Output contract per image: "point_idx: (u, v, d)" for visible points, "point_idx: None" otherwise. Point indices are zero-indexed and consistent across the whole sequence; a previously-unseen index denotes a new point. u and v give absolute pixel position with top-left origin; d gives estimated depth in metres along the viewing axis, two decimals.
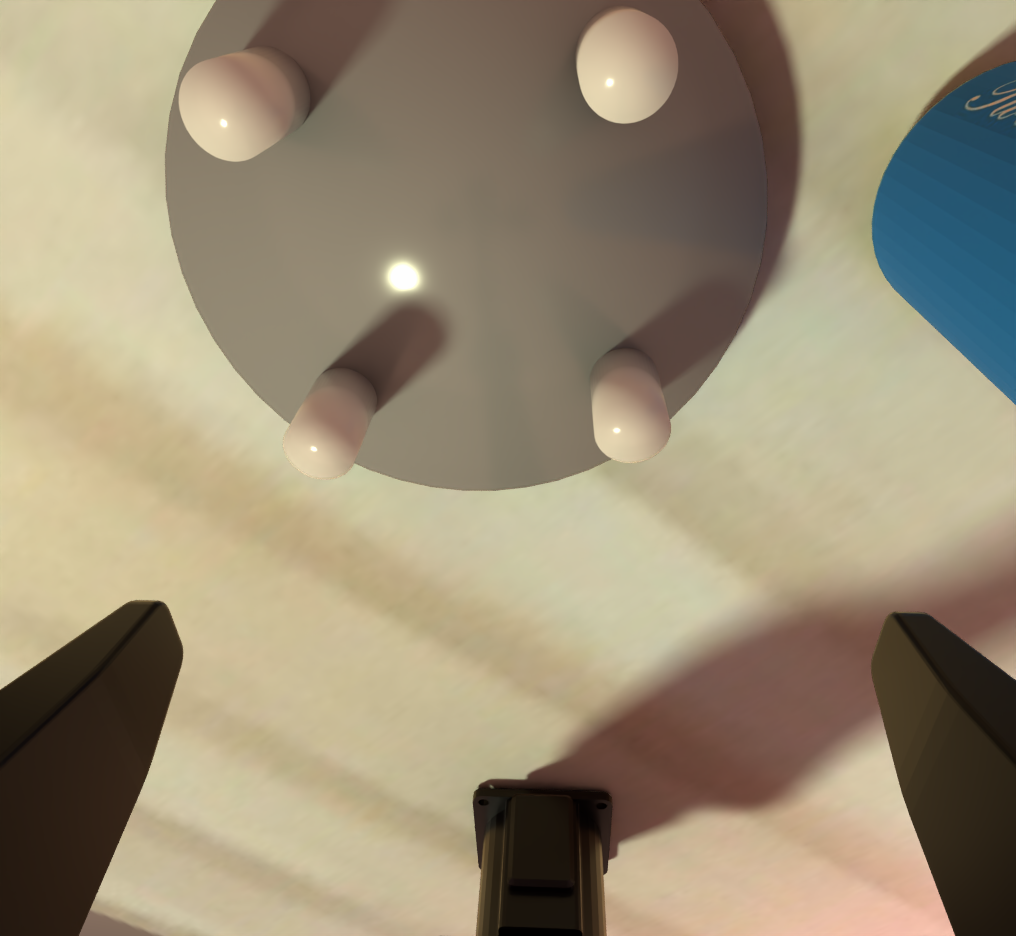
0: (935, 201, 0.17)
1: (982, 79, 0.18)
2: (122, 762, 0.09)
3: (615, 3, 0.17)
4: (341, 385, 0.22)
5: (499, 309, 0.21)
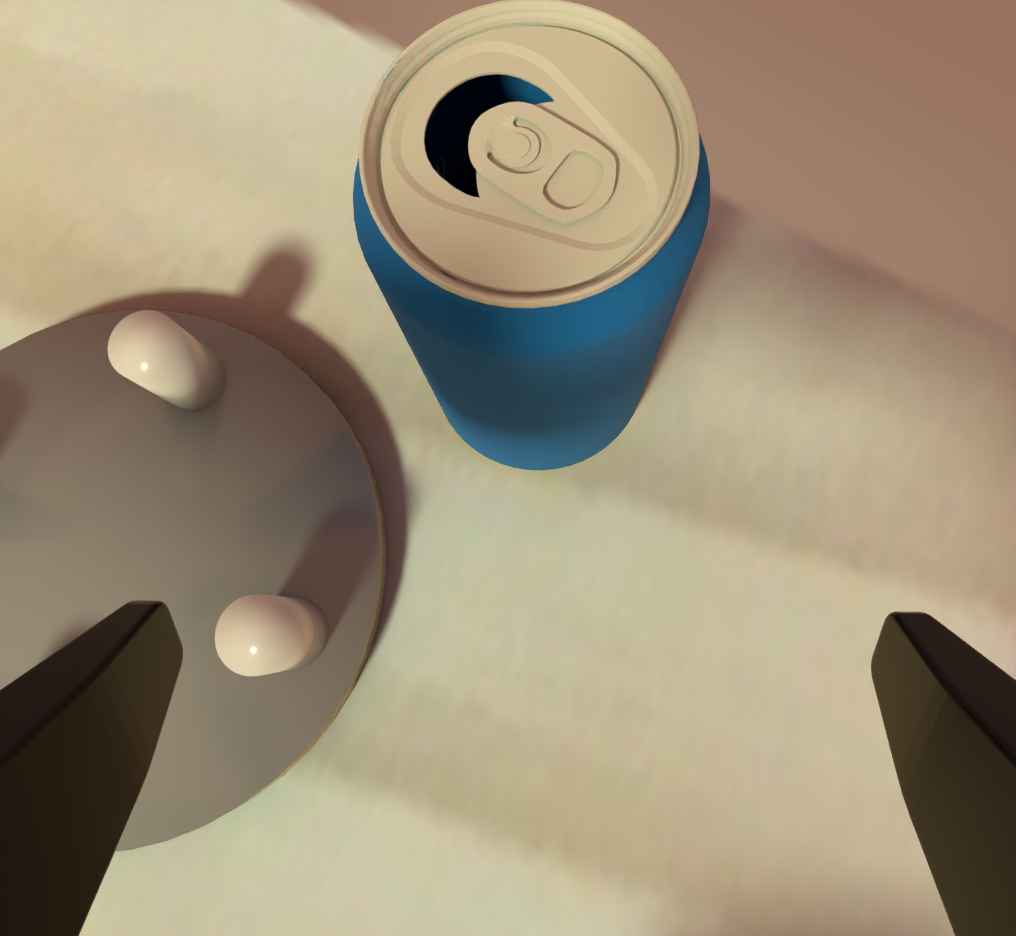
0: None
1: None
2: (122, 762, 0.09)
3: None
4: None
5: None
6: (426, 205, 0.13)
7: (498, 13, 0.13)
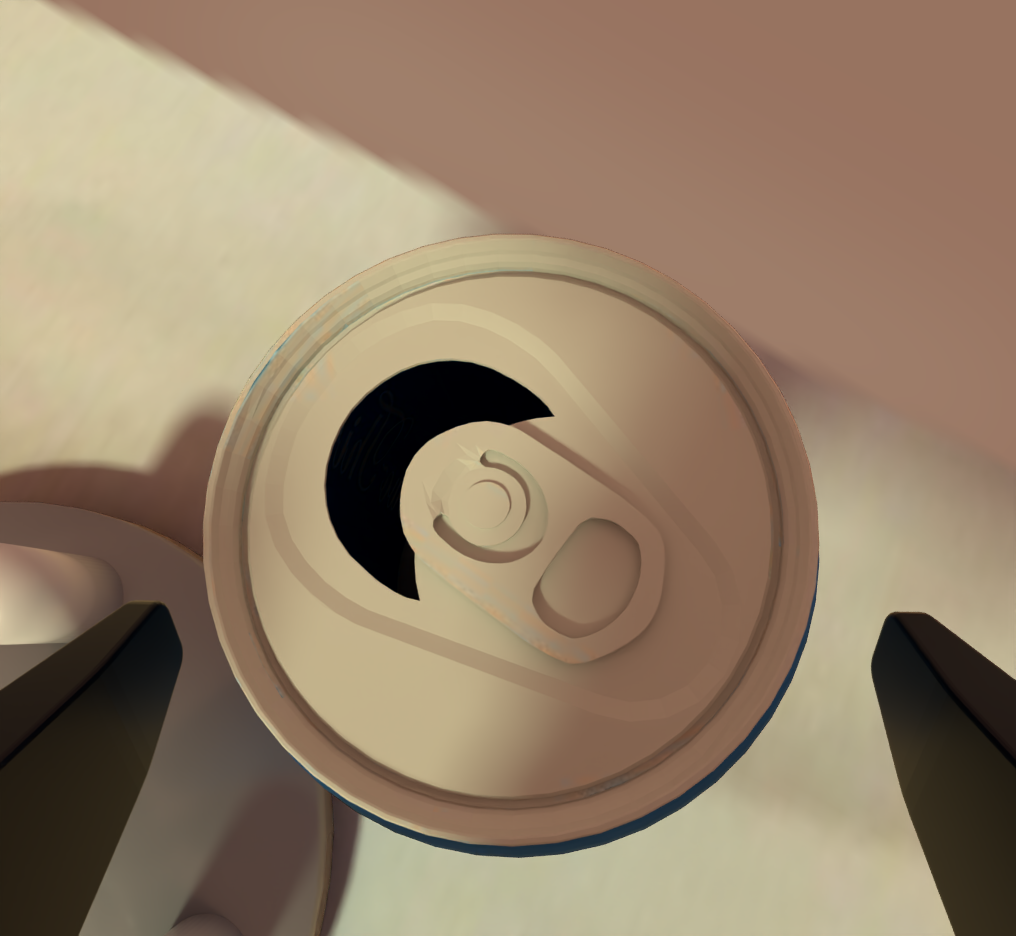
0: None
1: None
2: (122, 762, 0.09)
3: None
4: None
5: None
6: (323, 618, 0.07)
7: (457, 254, 0.08)
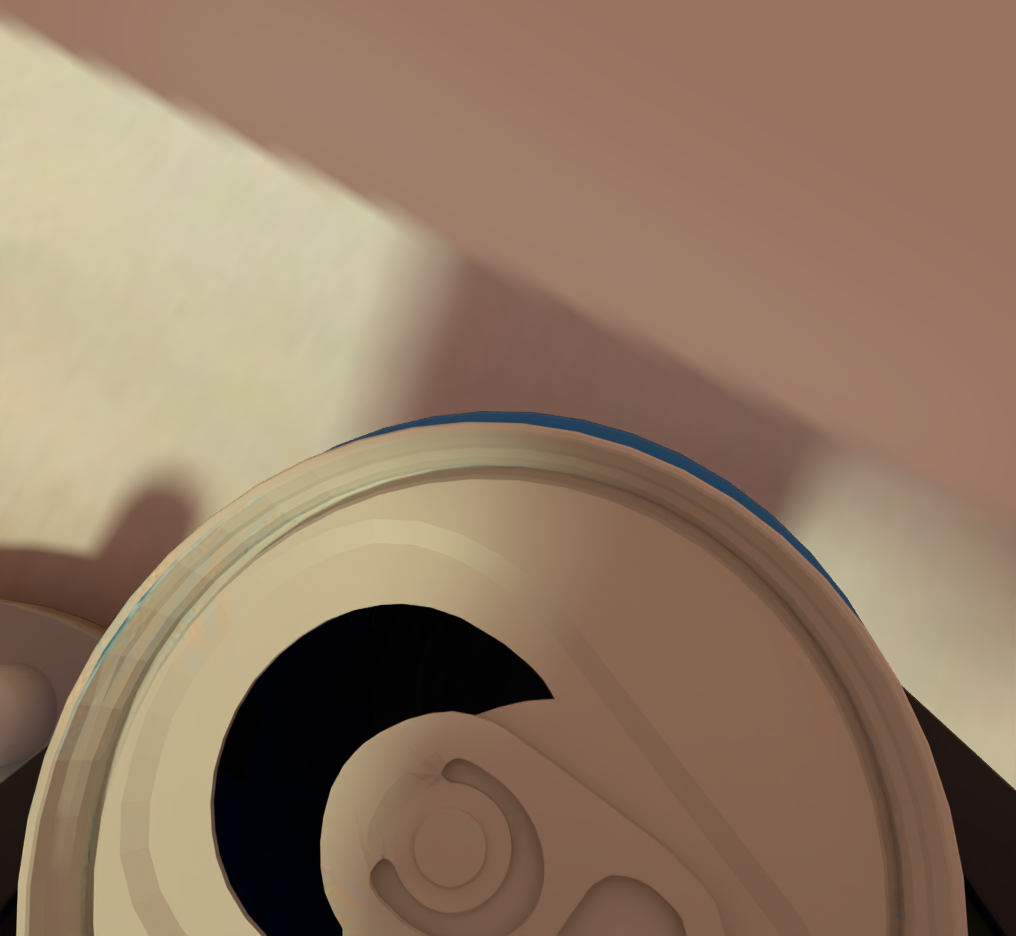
0: None
1: None
2: (225, 765, 0.09)
3: None
4: None
5: None
6: None
7: (410, 444, 0.05)
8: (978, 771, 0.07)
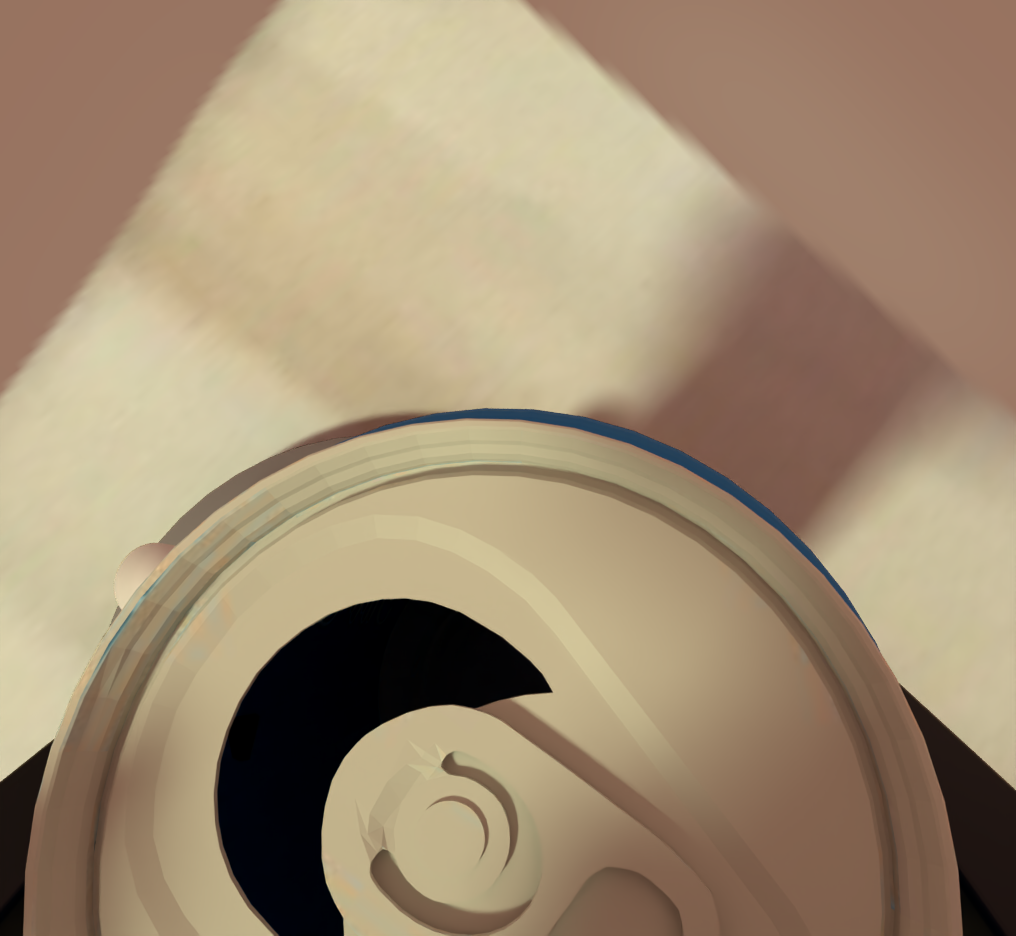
0: None
1: None
2: None
3: None
4: None
5: None
6: None
7: (411, 440, 0.05)
8: (978, 771, 0.07)
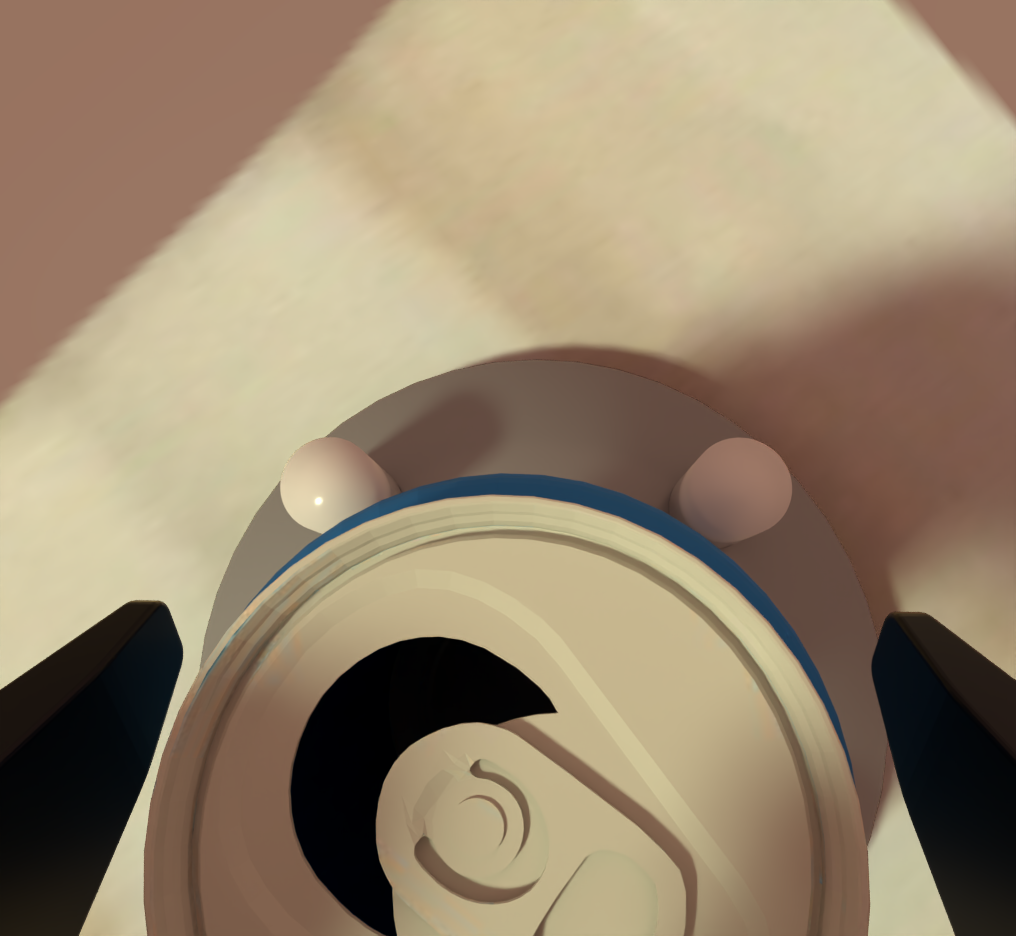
0: None
1: None
2: (122, 762, 0.09)
3: None
4: None
5: None
6: None
7: (445, 510, 0.07)
8: None
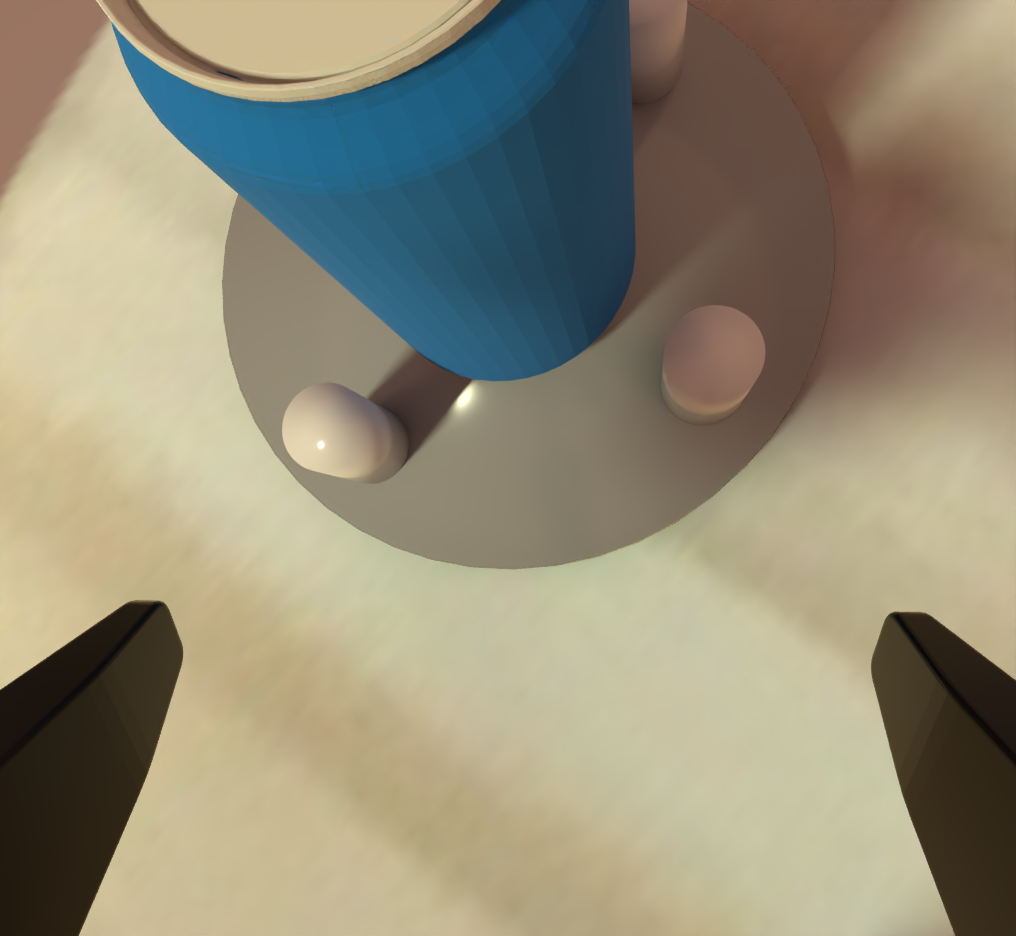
0: None
1: None
2: (122, 762, 0.09)
3: None
4: None
5: None
6: None
7: None
8: None
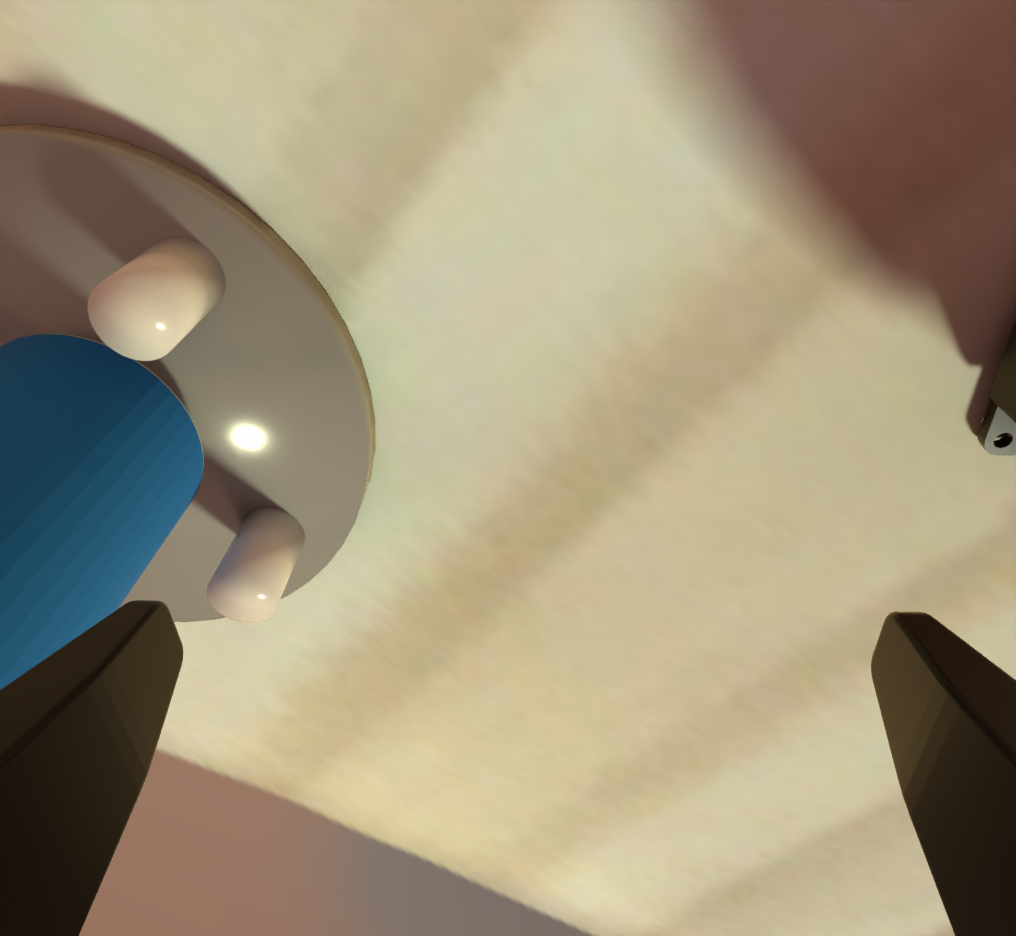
0: None
1: None
2: (122, 762, 0.09)
3: None
4: None
5: None
6: None
7: None
8: None
